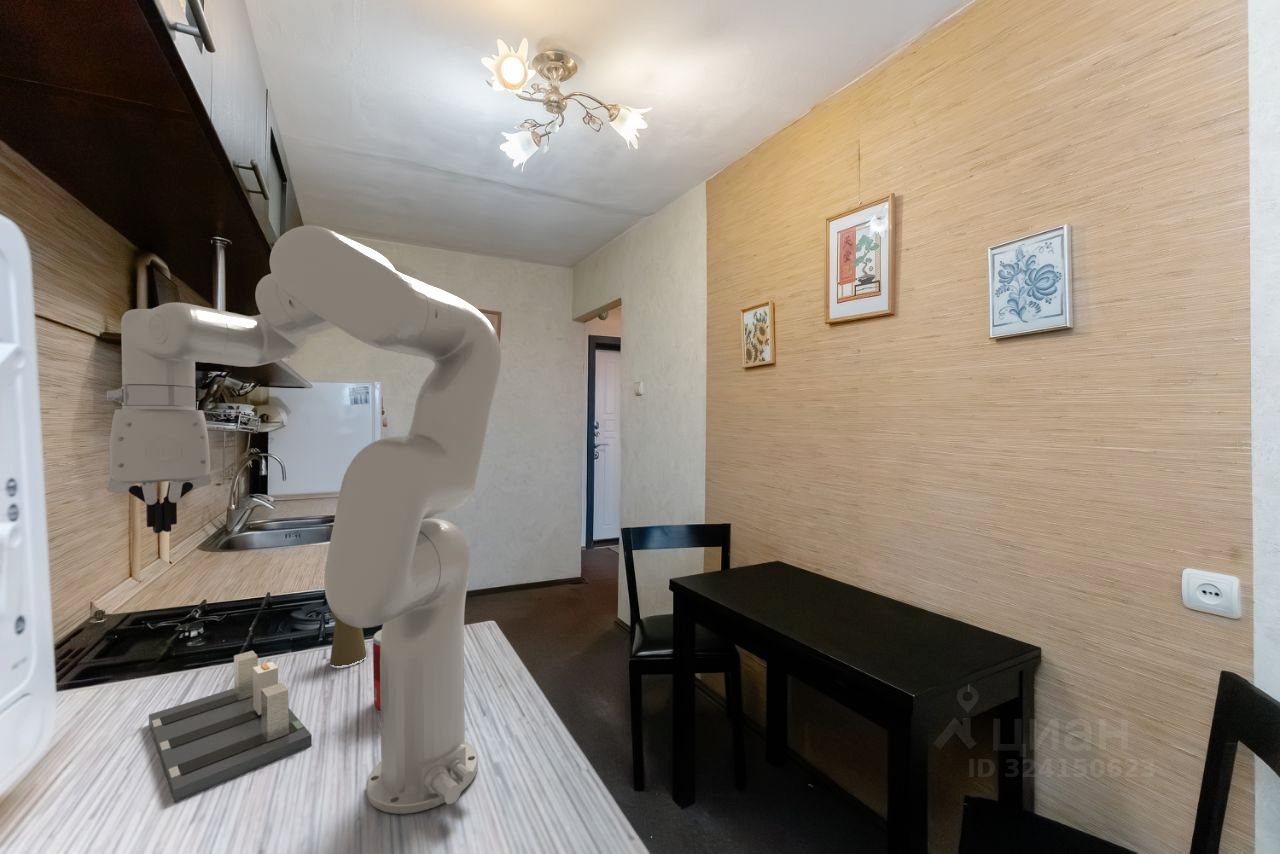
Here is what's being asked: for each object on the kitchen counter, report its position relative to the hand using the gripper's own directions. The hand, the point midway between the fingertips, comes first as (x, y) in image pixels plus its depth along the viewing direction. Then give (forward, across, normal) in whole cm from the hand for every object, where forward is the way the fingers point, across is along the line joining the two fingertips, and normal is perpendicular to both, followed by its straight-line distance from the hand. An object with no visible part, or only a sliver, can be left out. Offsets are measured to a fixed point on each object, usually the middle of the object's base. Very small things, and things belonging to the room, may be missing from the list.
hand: (162, 530), depth 72 cm
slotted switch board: (+29, +6, -6) cm, 30 cm away
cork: (+29, +26, +6) cm, 40 cm away
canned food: (+29, +26, -16) cm, 42 cm away
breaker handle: (+27, +11, -6) cm, 30 cm away
